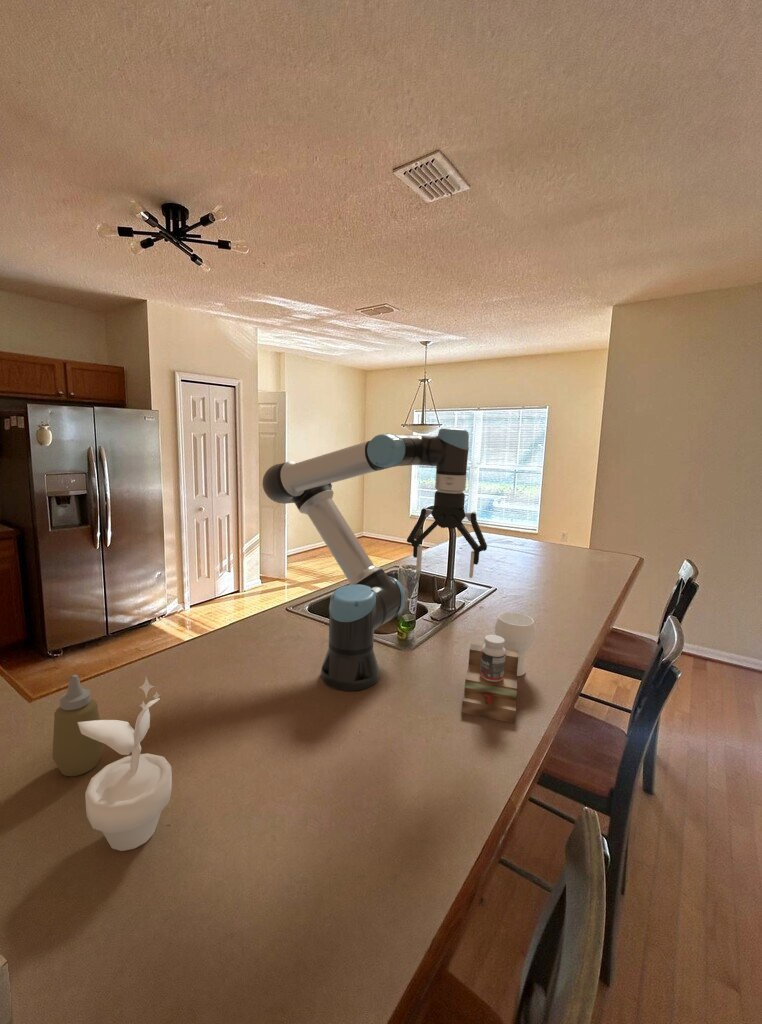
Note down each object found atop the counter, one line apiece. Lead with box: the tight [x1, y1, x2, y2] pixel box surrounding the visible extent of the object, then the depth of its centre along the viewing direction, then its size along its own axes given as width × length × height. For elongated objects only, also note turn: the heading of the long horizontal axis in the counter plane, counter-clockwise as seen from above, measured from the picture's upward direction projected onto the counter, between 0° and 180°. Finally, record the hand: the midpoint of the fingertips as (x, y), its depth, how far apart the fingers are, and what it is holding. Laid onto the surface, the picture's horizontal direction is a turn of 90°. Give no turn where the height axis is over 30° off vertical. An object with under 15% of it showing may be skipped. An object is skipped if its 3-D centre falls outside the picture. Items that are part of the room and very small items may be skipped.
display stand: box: [461, 643, 518, 724], centre depth 113 cm, size 12×16×10 cm
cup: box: [494, 611, 536, 677], centre depth 128 cm, size 11×11×15 cm
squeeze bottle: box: [52, 674, 105, 777], centre depth 84 cm, size 8×8×18 cm
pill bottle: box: [480, 634, 506, 682], centre depth 112 cm, size 6×6×10 cm
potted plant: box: [78, 675, 173, 852], centre depth 70 cm, size 13×12×25 cm
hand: (444, 573), depth 119 cm, fingers open, 13 cm apart
